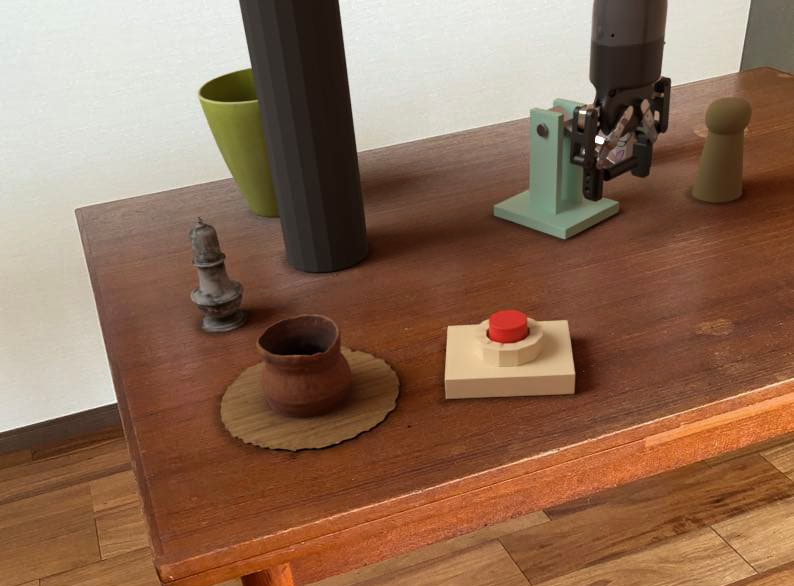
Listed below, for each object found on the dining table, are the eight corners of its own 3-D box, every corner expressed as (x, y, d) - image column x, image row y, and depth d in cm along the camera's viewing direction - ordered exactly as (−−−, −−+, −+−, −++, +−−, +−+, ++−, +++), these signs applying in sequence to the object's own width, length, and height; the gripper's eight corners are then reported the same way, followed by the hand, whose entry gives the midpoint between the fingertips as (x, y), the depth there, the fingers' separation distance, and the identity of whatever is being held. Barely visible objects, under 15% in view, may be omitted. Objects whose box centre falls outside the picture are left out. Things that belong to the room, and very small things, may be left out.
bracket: (618, 212, 111) (627, 103, 102) (565, 240, 106) (569, 128, 98) (546, 190, 118) (548, 86, 109) (493, 215, 114) (491, 110, 105)
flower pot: (292, 236, 115) (268, 105, 104) (203, 222, 122) (173, 98, 111) (351, 191, 124) (335, 67, 113) (266, 181, 131) (243, 62, 120)
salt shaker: (251, 328, 98) (227, 223, 90) (198, 337, 98) (169, 232, 90) (248, 304, 102) (225, 201, 94) (198, 312, 102) (170, 210, 94)
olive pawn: (733, 205, 109) (748, 110, 102) (684, 198, 112) (696, 106, 104) (748, 186, 112) (764, 94, 105) (701, 180, 115) (713, 90, 108)
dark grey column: (316, 232, 115) (273, -38, 95) (383, 242, 111) (353, -38, 91) (271, 266, 109) (214, -14, 89) (340, 278, 105) (297, -14, 85)
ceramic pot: (383, 454, 79) (374, 387, 74) (195, 450, 82) (175, 386, 77) (412, 348, 91) (406, 285, 87) (249, 348, 95) (234, 287, 90)
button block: (566, 339, 90) (568, 303, 87) (574, 394, 83) (576, 356, 80) (448, 344, 91) (446, 309, 89) (446, 399, 84) (443, 362, 81)
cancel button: (526, 325, 86) (526, 308, 84) (528, 344, 83) (528, 327, 82) (489, 327, 86) (488, 310, 85) (489, 346, 83) (488, 329, 82)
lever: (634, 173, 103) (642, 155, 101) (606, 187, 101) (613, 169, 99) (560, 120, 107) (566, 101, 105) (532, 132, 105) (537, 113, 103)
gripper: (612, 54, 87) (602, 216, 98) (700, 19, 93) (681, 175, 104) (554, 44, 91) (551, 200, 102) (641, 11, 97) (629, 162, 108)
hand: (616, 187), depth 103 cm, fingers open, 8 cm apart
